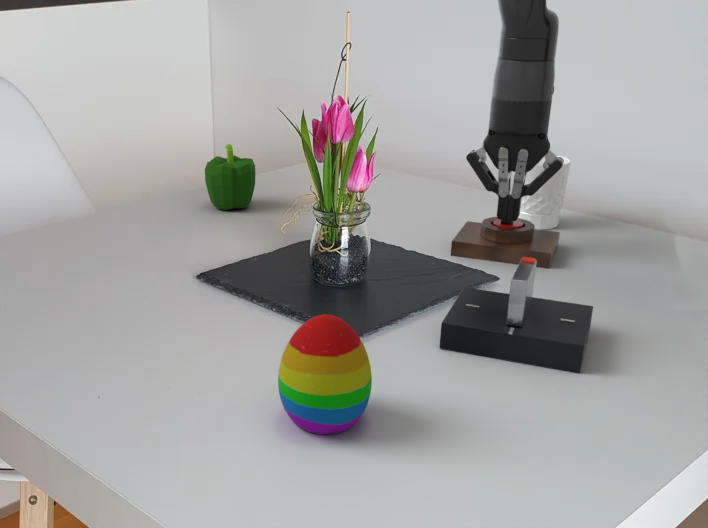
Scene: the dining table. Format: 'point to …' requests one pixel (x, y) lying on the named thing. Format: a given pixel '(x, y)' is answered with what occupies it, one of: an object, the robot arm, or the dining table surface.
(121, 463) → the dining table surface
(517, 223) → the button
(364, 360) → the decorative egg
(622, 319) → the dining table surface
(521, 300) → the grey rectangular box
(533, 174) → the white cup
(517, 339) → the card holder base
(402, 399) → the dining table surface
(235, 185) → the bell pepper
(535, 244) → the button block
